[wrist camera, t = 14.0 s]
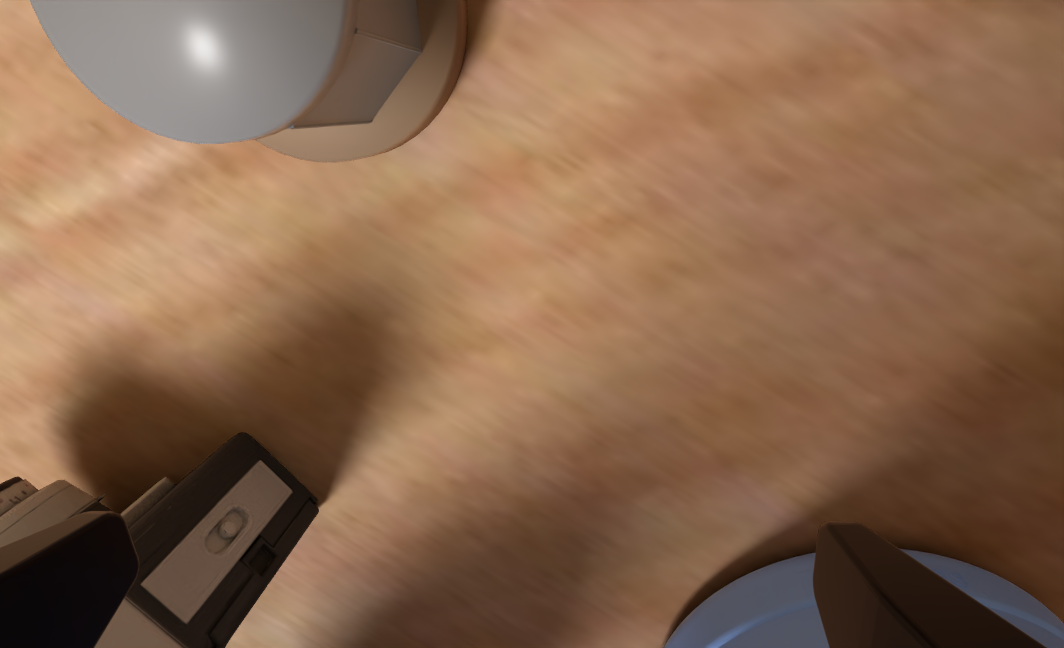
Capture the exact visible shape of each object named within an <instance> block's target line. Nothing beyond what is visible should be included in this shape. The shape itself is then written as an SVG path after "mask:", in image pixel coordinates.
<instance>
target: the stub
mask: <svg viewBox="0 0 1064 648" xmlns="http://www.w3.org/2000/svg"><path fill="white" fill-rule="evenodd" d="M416 3H417V12H418V21H419V30H420V39H421V48H422V53H420V55H419V56H418V57H417V59H416V60H415V62H414V63H413V64H412V66H411V67H410V68H409V70H408V71H407V73H406V74H405V75H404V77H403V78H402V79H401V81H400V82H399V84H398V85H397V86H396V88H395V89H394V90H393V92H392V93H391V95H390V96H389V97H388V99H387V100H386V101H385V103H384V104H383V106H382V107H381V108H380V110H379V111H378V113H377V114H376V115H375V117H374V118H373V119H372V122H370V124H357V125H343V126H330V127H316V128H303V129H285V130H283V131H281V132H278V133H276V134H274V135H270V136H267V137H264V138H260V139H256V141H258V142H260V143H261V144H263V145H265V146H266V147H268V148H271V149H273V150H275V151H277V152H280V153H282V154H284V155H288V156H291V157H294V158H298V159H301V160H308V161H314V162H343V161H351V160H356V159H361V158H365V157H370V156H374V155H377V154H381V153H384V152H388V151H390V150H392V149H394V148H397V147H399V146H401V145H403V144H404V143H406V142H407V141H409V140H411V139H412V138H414V137H415V136H416V135H418V134H419V133H420V132H421V131H422V130H423V129H425V128H426V127H427V126H428V125H429V124H430V123H431V121H432V120H433V119H434V118H435V117H436V116H437V115H438V114H439V112H440V111H441V109H442V108H443V106H444V105H445V103H446V102H447V100H448V98H449V96H450V94H451V92H452V90H453V88H454V86H455V84H456V82H457V79H458V76H459V73H460V70H461V67H462V63H463V59H464V54H465V49H466V41H467V30H468V17H467V2H466V0H416Z"/></svg>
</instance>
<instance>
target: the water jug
mask: <svg viewBox="0 0 1064 648" xmlns="http://www.w3.org/2000/svg"><path fill="white" fill-rule="evenodd" d="M901 550H902V551H904V552H905V553H907V554H908V555H910V556H911V557H912V558H914V559H915V560H917V561H918V562H920V563H921V564H923V565H924V566H926V567H927V568H929V569H930V570H932V571H933V572H935V573H936V574H938V575H939V576H941V577H942V578H944V579H945V580H947V581H948V582H950V583H951V584H953V585H954V586H956V587H957V588H959V589H960V590H962V591H963V592H965V593H966V594H968V595H969V596H971V597H972V598H974V599H975V600H977V601H978V602H980V603H981V604H983V605H984V606H986V607H987V608H989V609H990V610H992V611H993V612H995V613H996V614H998V615H999V616H1001V617H1002V618H1004V619H1005V620H1007V621H1008V622H1010V623H1011V624H1013V625H1014V626H1015V627H1017V628H1018V629H1020V630H1021V631H1023V632H1024V633H1026V634H1027V635H1029V636H1030V637H1032V638H1033V639H1035V640H1036V641H1038V642H1039V643H1041V644H1042V645H1044V646H1045V647H1047V648H1064V623H1063V622H1062V621H1061V620H1060V619H1059V618H1058V617H1057V616H1056V615H1055V614H1054V613H1053V612H1052V611H1050V610H1049V609H1048V608H1047V607H1046V606H1045V605H1043V604H1042V603H1041V602H1040V601H1038V600H1037V599H1036V598H1034V597H1033V596H1031V595H1030V594H1029V593H1027V592H1026V591H1024V590H1023V589H1021V588H1019V587H1018V586H1016V585H1014V584H1013V583H1011V582H1009V581H1007V580H1005V579H1003V578H1001V577H999V576H997V575H995V574H993V573H991V572H989V571H986V570H984V569H982V568H979V567H977V566H974V565H971V564H968V563H965V562H962V561H959V560H956V559H952V558H949V557H945V556H941V555H936V554H931V553H926V552H920V551H914V550H906V549H901ZM815 554H816V552H815V553H810V554H805V555H801V556H797V557H793V558H789V559H786V560H783V561H779V562H776V563H773V564H771V565H768V566H765V567H763V568H760V569H758V570H755V571H753V572H751V573H749V574H747V575H745V576H743V577H741V578H739V579H737V580H735V581H733V582H731V583H730V584H728V585H726V586H725V587H723V588H721V589H720V590H718V591H717V592H715V593H714V594H713V595H711V596H710V597H709V598H707V599H706V600H705V601H703V602H702V603H701V604H700V605H699V606H697V607H696V608H695V609H694V610H693V611H692V612H691V613H690V614H689V615H688V616H687V617H686V618H685V619H684V620H683V621H682V622H681V624H680V625H679V626H678V627H677V629H676V630H675V631H674V632H673V634H672V635H671V637H670V638H669V640H668V641H667V643H666V644H665V646H664V648H829V645H828V641H827V638H826V634H825V631H824V628H823V624H822V621H821V617H820V614H819V610H818V607H817V604H816V600H815V596H814V591H813V570H814V562H815Z"/></svg>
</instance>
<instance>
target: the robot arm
mask: <svg viewBox="0 0 1064 648" xmlns="http://www.w3.org/2000/svg"><path fill="white" fill-rule="evenodd" d="M138 571H139V558H138V555H137V552H136V550H135V547H134V544H133V541H132V538H131V535H130V533H129V530H128V527H127V524H126V521H125V519H124V518H123V517H122V516H121V515H120V514H119V513H116V512H112V511H89V512H84V513H81V514H79V515H76V516H74V517H71V518H69V519H67V520H64V521H62V522H60V523H57V524H55V525H52V526H50V527H48V528H45V529H43V530H41V531H38V532H36V533H33V534H31V535H29V536H26V537H24V538H22V539H19V540H17V541H14V542H12V543H10V544H7V545H5V546H3V547H0V648H95V646H96V644H97V643H98V641H99V639H100V638H101V636H102V634H103V633H104V631H105V630H106V628H107V626H108V625H109V623H110V621H111V620H112V618H113V616H114V615H115V613H116V611H117V610H118V608H119V606H120V605H121V603H122V601H123V600H124V598H125V596H126V595H127V593H128V592H129V590H130V588H131V587H132V585H133V583H134V581H135V580H136V577H137V575H138ZM813 591H814V596H815V600H816V604H817V607H818V610H819V614H820V617H821V621H822V624H823V628H824V631H825V634H826V638H827V641H828V645H829V648H1047V647H1045V646H1044V645H1042V644H1041V643H1039V642H1038V641H1036V640H1035V639H1033V638H1032V637H1030V636H1029V635H1027V634H1026V633H1024V632H1023V631H1021V630H1020V629H1018V628H1017V627H1015V626H1014V625H1013V624H1011V623H1010V622H1008V621H1007V620H1005V619H1004V618H1002V617H1001V616H999V615H998V614H996V613H995V612H993V611H992V610H990V609H989V608H987V607H986V606H984V605H983V604H981V603H980V602H978V601H977V600H975V599H974V598H972V597H971V596H969V595H968V594H966V593H965V592H963V591H962V590H960V589H959V588H957V587H956V586H954V585H953V584H951V583H950V582H948V581H947V580H945V579H944V578H942V577H941V576H939V575H938V574H936V573H935V572H933V571H932V570H930V569H929V568H927V567H926V566H924V565H923V564H921V563H920V562H918V561H917V560H915V559H914V558H912V557H911V556H910V555H908V554H907V553H905V552H904V551H902V550H901V549H899V548H898V547H896V546H895V545H893V544H892V543H890V542H889V541H887V540H886V539H884V538H883V537H881V536H880V535H878V534H877V533H875V532H874V531H872V530H871V529H869V528H868V527H866V526H865V525H863V524H861V523H858V522H837V521H827V522H824V523H823V524H822V525H821V526H820V528H819V531H818V537H817V545H816V554H815V562H814V570H813Z"/></svg>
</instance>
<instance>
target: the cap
mask: <svg viewBox="0 0 1064 648" xmlns="http://www.w3.org/2000/svg"><path fill="white" fill-rule="evenodd" d="M30 2H31V5H32V7H33V9H34V11H35V13H36V15H37V17H38V19H39V21H40V24H41V26H42V28H43V29H44V31H45V33H46V34H47V36H48V38H49V40H50V41H51V43H52V45H53V46H54V48H55V49H56V51H57V52H58V54H59V55H60V56H61V58H62V59H63V60H64V62H65V63H66V65H67V66H68V67H69V69H70V70H71V71H72V72H73V73H74V74H75V75H76V77H77V78H78V79H79V80H80V81H81V82H82V83H83V84H84V85H85V87H86V88H88V89H89V90H90V91H91V92H92V93H93V94H94V95H95V96H96V97H97V98H98V99H100V100H101V101H102V102H103V103H104V104H106V105H107V106H108V107H110V108H111V109H112V110H114V111H115V112H116V113H118V114H119V115H120V116H122V117H124V118H126V119H127V120H129V121H131V122H132V123H134V124H136V125H138V126H139V127H142V128H144V129H146V130H148V131H151V132H153V133H155V134H158V135H161V136H164V137H167V138H171V139H174V140H178V141H184V142H190V143H196V144H221V143H231V142H241V141H248V140H256V139H260V138H264V137H267V136H270V135H274V134H276V133H278V132H281V131H283V130H285V129H303V128H316V127H330V126H343V125H357V124H370V122H372V119H373V118H374V117H375V115H376V114H377V113H378V111H379V110H380V108H381V107H382V106H383V104H384V103H385V101H386V100H387V99H388V97H389V96H390V95H391V93H392V92H393V90H394V89H395V88H396V86H397V85H398V84H399V82H400V81H401V79H402V78H403V77H404V75H405V74H406V73H407V71H408V70H409V68H410V67H411V66H412V64H413V63H414V62H415V60H416V59H417V57H418V56H419V55H420V53H422V48H421V39H420V30H419V21H418V12H417V3H416V0H30Z"/></svg>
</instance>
